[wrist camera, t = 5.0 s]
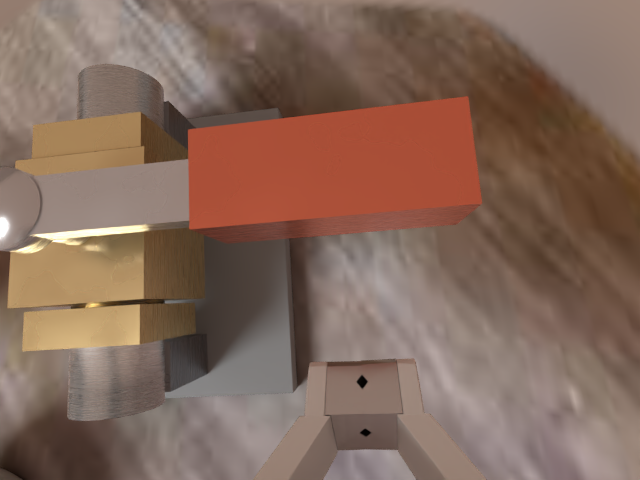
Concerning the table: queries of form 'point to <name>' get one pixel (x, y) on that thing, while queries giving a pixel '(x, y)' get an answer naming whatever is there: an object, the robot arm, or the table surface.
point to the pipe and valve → (114, 259)
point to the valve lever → (267, 181)
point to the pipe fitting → (8, 475)
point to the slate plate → (245, 307)
